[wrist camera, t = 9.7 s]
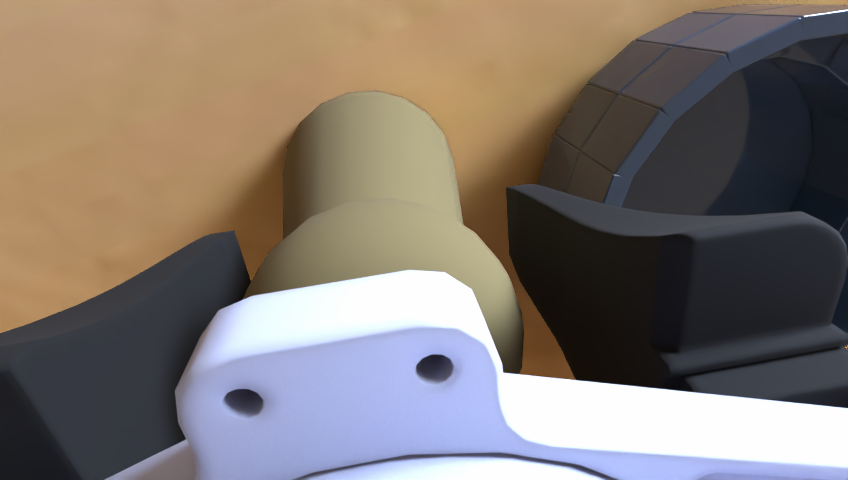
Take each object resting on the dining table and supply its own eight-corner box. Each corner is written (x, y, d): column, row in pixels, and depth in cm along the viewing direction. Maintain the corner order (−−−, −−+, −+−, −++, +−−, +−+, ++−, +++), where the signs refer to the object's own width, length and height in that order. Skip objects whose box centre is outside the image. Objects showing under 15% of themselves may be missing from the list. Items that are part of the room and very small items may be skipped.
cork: (314, 268, 19) (266, 564, 9) (257, 114, 16) (98, 294, 6) (466, 232, 19) (586, 483, 9) (437, 71, 16) (562, 182, 6)
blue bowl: (796, 284, 22) (907, 356, 18) (535, 331, 21) (582, 417, 17) (878, -17, 17) (1070, -24, 12) (529, 32, 16) (597, 45, 11)
